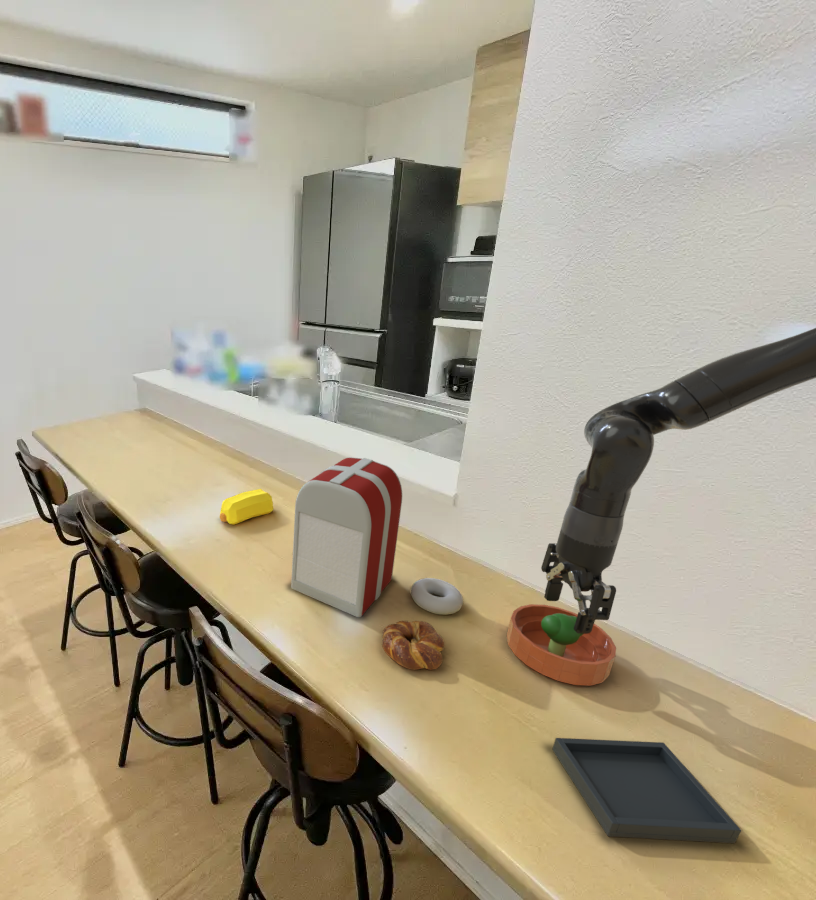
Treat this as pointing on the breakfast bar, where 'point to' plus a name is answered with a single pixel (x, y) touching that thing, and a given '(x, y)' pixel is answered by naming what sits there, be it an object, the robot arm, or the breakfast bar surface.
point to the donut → (438, 605)
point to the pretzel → (413, 644)
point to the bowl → (580, 660)
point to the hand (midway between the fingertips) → (565, 615)
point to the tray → (643, 791)
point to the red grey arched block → (347, 534)
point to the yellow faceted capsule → (246, 506)
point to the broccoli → (560, 632)
